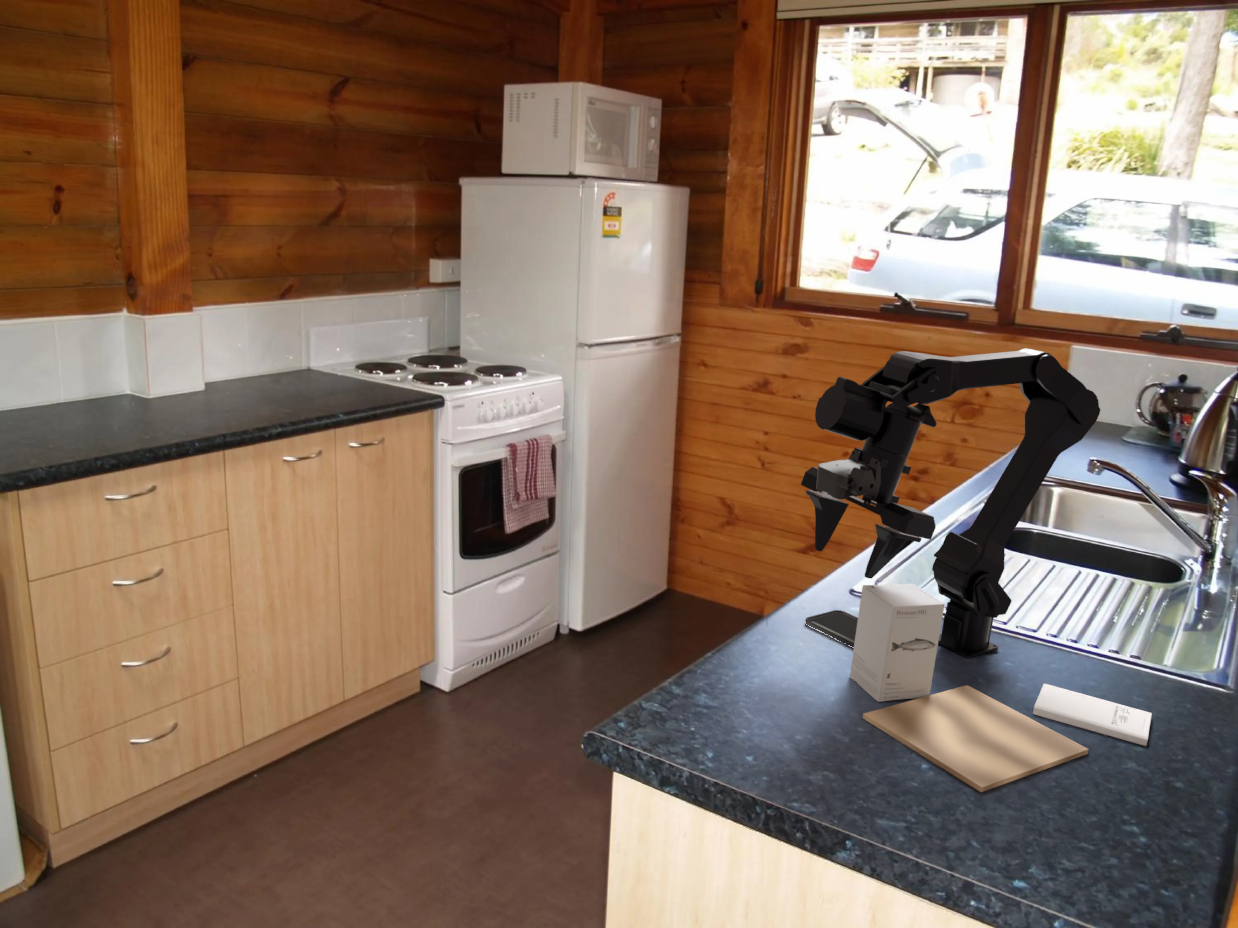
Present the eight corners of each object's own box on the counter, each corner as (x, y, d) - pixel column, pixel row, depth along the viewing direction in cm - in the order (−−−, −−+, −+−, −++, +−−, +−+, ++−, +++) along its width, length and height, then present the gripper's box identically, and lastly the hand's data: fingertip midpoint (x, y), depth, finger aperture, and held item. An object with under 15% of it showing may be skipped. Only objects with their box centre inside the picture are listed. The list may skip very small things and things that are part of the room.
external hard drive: (1042, 693, 130) (1150, 722, 124) (1031, 718, 123) (1145, 750, 117) (1044, 681, 130) (1152, 710, 124) (1033, 705, 123) (1148, 737, 117)
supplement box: (878, 703, 123) (892, 606, 119) (848, 676, 129) (860, 583, 126) (931, 699, 125) (946, 603, 122) (899, 672, 132) (912, 581, 128)
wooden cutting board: (966, 689, 128) (967, 684, 128) (1087, 753, 114) (1088, 749, 114) (862, 718, 119) (863, 713, 118) (981, 792, 105) (982, 786, 105)
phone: (886, 659, 134) (802, 618, 145) (884, 667, 134) (801, 625, 145) (923, 647, 138) (839, 608, 150) (922, 655, 138) (838, 615, 150)
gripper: (793, 417, 131) (752, 529, 134) (900, 459, 116) (851, 585, 119) (850, 434, 138) (810, 541, 140) (958, 477, 123) (911, 595, 125)
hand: (842, 563), depth 131 cm, fingers open, 9 cm apart
